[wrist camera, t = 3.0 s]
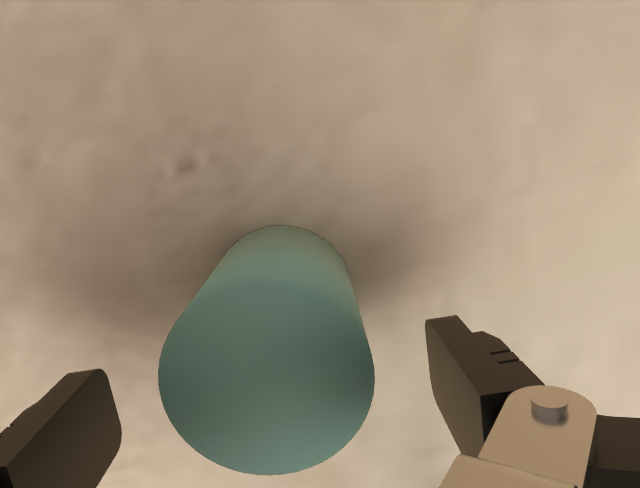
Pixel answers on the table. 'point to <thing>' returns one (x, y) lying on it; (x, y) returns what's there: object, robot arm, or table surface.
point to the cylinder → (270, 357)
